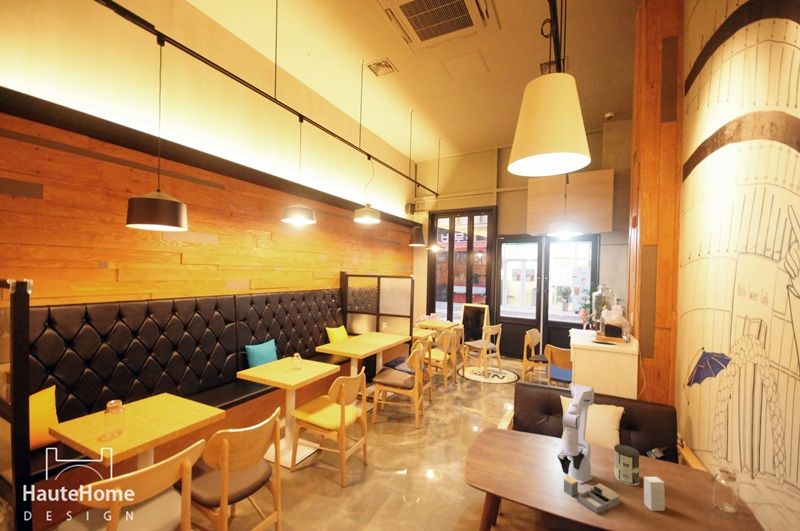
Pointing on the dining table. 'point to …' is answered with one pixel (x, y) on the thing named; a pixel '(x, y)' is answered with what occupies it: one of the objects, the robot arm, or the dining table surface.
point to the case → (596, 502)
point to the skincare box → (654, 494)
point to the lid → (605, 492)
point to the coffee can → (626, 464)
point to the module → (570, 486)
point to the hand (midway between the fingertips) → (570, 470)
